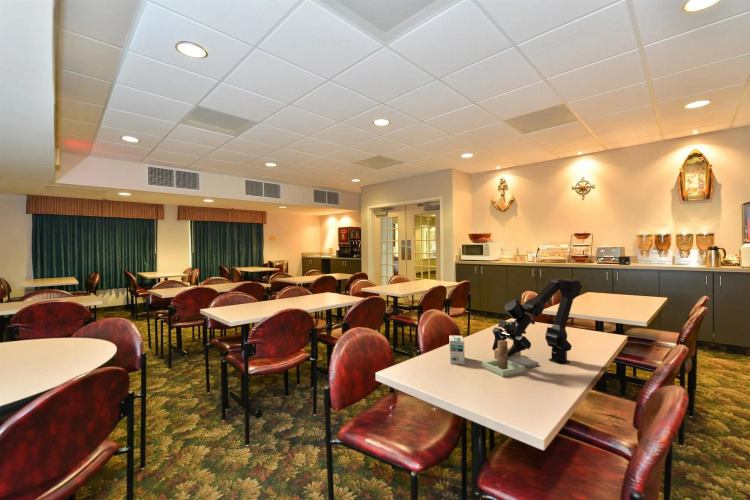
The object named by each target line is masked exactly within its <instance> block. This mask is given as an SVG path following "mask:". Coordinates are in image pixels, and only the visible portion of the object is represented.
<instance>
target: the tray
mask: <svg viewBox="0 0 750 500" xmlns="http://www.w3.org/2000/svg"><path fill="white" fill-rule="evenodd" d="M482 369H484V370H487V371H488V372H491V373H493V374H495V375H497V376H499V377H502V378H505V377H510V376H514V375H518V374H523V373H525V368H524V366H521V365H519V364H516V363H513V362H511V361H508V369H505V370H502V369H499V368H498V359H491V360H488V361H483V362H482Z"/></svg>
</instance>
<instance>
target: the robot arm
mask: <svg viewBox="0 0 750 500" xmlns="http://www.w3.org/2000/svg"><path fill="white" fill-rule="evenodd" d="M581 290H582V284H581V282H580V281H579V280H577V279H576V280H575V279H568V278H567V279H557V278H553V279H551V280H550V282H549V283H548V284H547V285H546V286H544V288H543V289H542V290H541V291H540V292H539V293H538V294H537V295H536V296H534V297H532V298H530V299H528V300H526V301H525V302H524V303H523V304H521V303H520V301H519V300H518V299H516V298H515V299H512V300H511V301H508V302H506V303H505V305H504V306H503V307H504V310H505V312H507V313H508V314H509V316H510V317H511V318H512V319H515V320H514V321H512V320H510V321H506V320H502V319H500V320H499V323H498V325H497V327H494V328H493V329H492V334H493V335H494V341H493V344H492V350H493V351H494V350H498V340H505V341H507V339H508V340H511V341H512V344H511V348H510V347H509V348H510V350H509V351H508V353H507V356H508V357H509V356H511V355H513V354H515V353H517V352H520V351H521V352H522V351H526V350H530V349H531V347H532V342H531V341H530V340H529V339H528V338H527V337H526V336H525V335H526V333H527V331H526V329H527V328H528V327H530V326H529V325H535V324H536V321H535V318H534V317H538V316H540V315H541V314H542V313H543V311H544V310H545V305H546V304H547V302H548V301H550V300H551V299H552V298H553V296H555V295H556V294H557V292H559V293H560V295H561V297H560V301H559V304H558V308H557V312H556V316H555V318H554V321H553V325H552V326H551V327H550V326H547V328H546V332H545V334H544V335H545V337H544V338H545V341H546V344H547V346H548V347H551V358H548V360H549V361H551V362H554V363H557V364H560V365H564V364H568V363H569V364H570V363H571V360H569V359H568V352H569V351H571V350H572V347H573V346H572V344H571V343H570V342H569V341H568V333H567V330H566V327H567V324H568V320H569V316H570V313H571V310H572V309H571V308H572V306H573V302H574V300H575V298H577V297H578V296H579V295H580V292H581ZM531 316H533V317H531ZM523 334H524V335H523Z"/></svg>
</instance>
